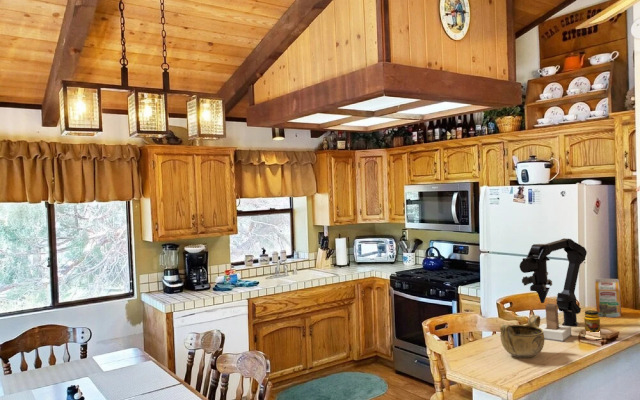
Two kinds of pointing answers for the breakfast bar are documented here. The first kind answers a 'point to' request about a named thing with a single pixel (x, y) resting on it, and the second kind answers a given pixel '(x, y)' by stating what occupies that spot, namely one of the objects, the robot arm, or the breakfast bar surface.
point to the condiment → (592, 321)
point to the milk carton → (608, 298)
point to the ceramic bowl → (523, 338)
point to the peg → (552, 316)
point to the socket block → (556, 333)
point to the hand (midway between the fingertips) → (542, 303)
